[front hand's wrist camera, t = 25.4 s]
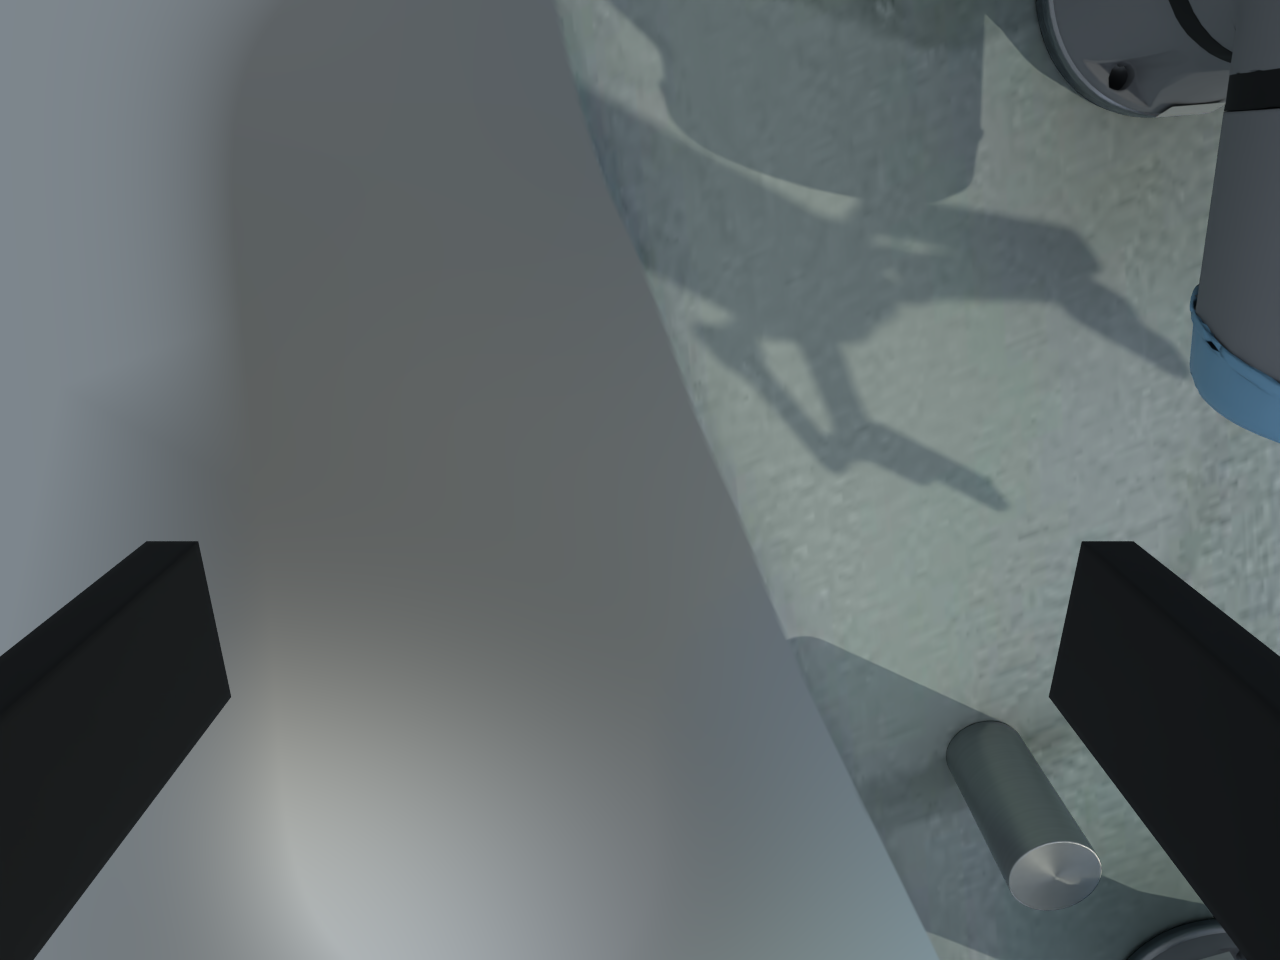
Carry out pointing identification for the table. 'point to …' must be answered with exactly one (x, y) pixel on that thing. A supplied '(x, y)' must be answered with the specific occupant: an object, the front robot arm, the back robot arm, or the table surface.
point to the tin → (1022, 818)
